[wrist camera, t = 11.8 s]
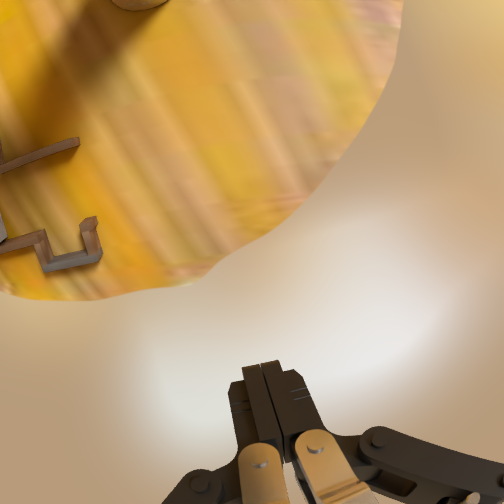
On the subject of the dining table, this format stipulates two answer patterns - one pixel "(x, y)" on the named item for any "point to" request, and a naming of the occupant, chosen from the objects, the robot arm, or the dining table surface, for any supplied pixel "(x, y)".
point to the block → (2, 230)
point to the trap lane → (40, 237)
